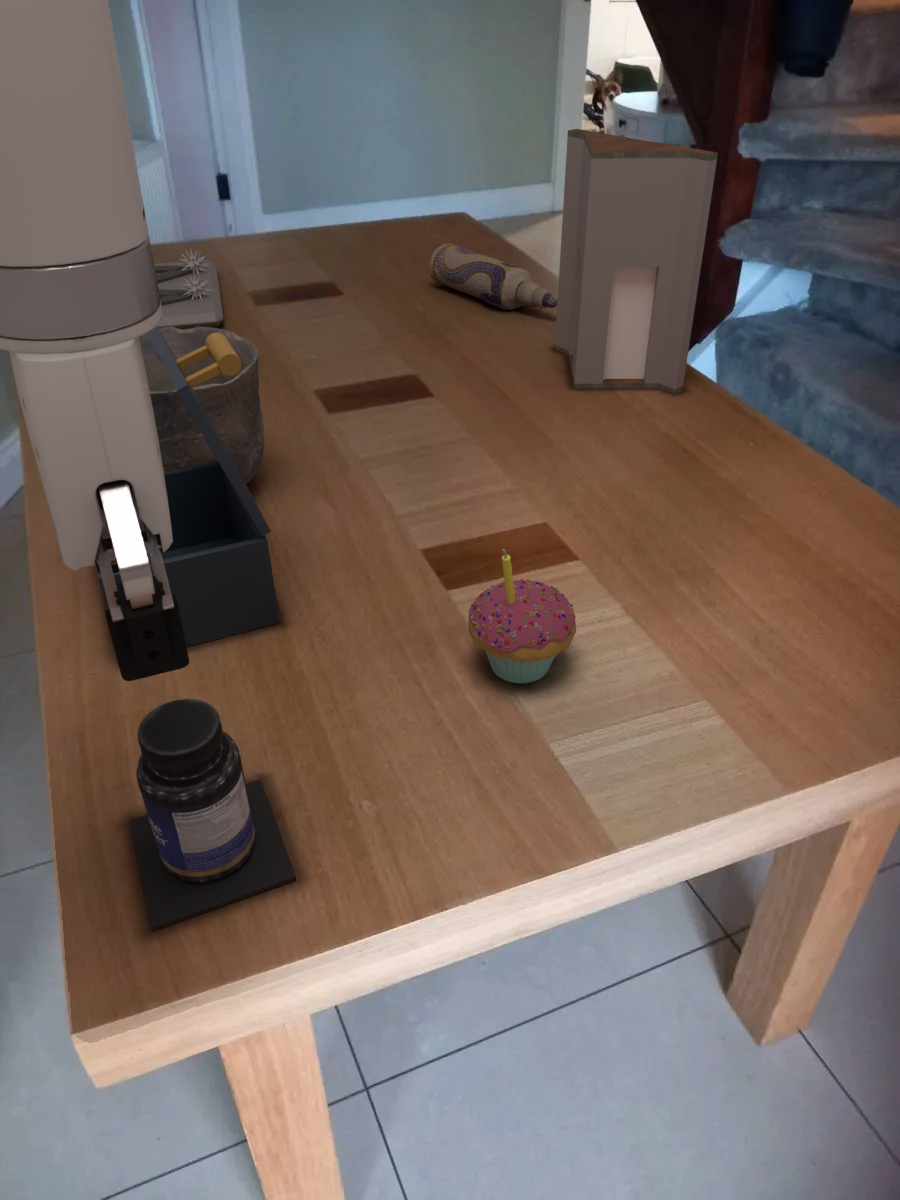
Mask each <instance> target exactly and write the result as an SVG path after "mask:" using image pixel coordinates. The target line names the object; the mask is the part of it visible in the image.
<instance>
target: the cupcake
mask: <svg viewBox="0 0 900 1200" xmlns="http://www.w3.org/2000/svg"><path fill="white" fill-rule="evenodd" d="M502 553H503V555H502V556H501V564H502V571H503V573H502V574H503V580H502V582H500V583H498V584H495V585H491V586H490V587H487V588H486V589H483V591H481V593H480V594H479V595H478V596H477V597H476V598H474V599H473V602H472V603H470V604H469V606H470V607H469V609H468V619H467V620H468V621H467V626H468V634H469V635H470V637H471V640H472V642H473V644H474V645H475V647H477V648H479V649H480V650H483V651H485V654H486V656H487V659H488V662H489V665H490V668H491V669H492V671H493V673H494V674H495V675H496V676H497V677H499V678H500V679H502V680H504V681H506V682H509V683H513V684H528V683H529V684H530V683H533V682H534V683H535V682H537V681H539V680H540V679H542V678H543V677H544V676H546V674H547V673H548V672H549V670H550V668H551V665H552V663H553V661H554V659H555V657H557V655H558V654H559V653H561V652H562V651H564V650H566V649H568V648H569V647H570V645H572V641H573V639H574V637H575V635H576V633H577V632H576V631H577V623H576V618H577V616H576V614H575V611H574V608H573V607H574V605H573V604H571V603H570V602H569V599H568V598H566V597H565V594H564V593H560V591H559V590H558V589H557V588H556V587H554V586H553V585H551V586H549V585H547V584H545V583H544V582H540V581H539V580H537V579H534V580H530V579H517V580H514V575H513V574H514V573H513V567H512V559H511V555H510V554H507V550H506V549H505V548H502Z"/></svg>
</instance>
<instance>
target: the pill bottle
mask: <svg viewBox="0 0 900 1200" xmlns="http://www.w3.org/2000/svg"><path fill="white" fill-rule="evenodd" d="M220 718H221V717H220V714H219V713H218V711H217V710H216V709H215V707H214V706H213V705H212V704H209V703H208V702H206V701H203V700H199V699H195V698H194V699H193V698H183V699H175V700H171V701H168V702H165V703H162V704H161V705H158V706H156V707H155V708H154V709H152V710H151V711H150V712H148V713H147V714H146V715H145V716H144V717H143V719H142V720H141V721H140V723H139V726H138V729H137V741H138V744H139V748H140V753H141V754H140V756H139V759H138V761H137V765H136V780H137V786H138V788H139V791H140V795H141V797H142V801H143V805H144V807H145V811H146V815H148V818H149V821H150V824H151V828H152V831H153V834H154V837H155V840H156V844H157V847H158V850H159V853H160V856H161V860H162V862H163V864H164V866H165V868H166V869H167V870H168V871H169V872H170V873H172V874H173V875H176V876H178V877H179V878H180V879H182V880H185V881H188V882H194V883H204V882H210V881H212V880H217V879H220V878H223V877H225V876H227V875H229V874H231V873H232V872H234V871H235V870H237V869H238V868H239V867H240V866H242V865H243V864H244V862H245V861H246V860H247V859H248V857H249V855H250V854H251V852H252V850H253V847H254V843H255V826H254V821H253V815H252V810H251V807H250V801H249V796H248V792H247V786H246V784H247V782H246V777H245V773H244V769H243V763H242V756H241V754H240V749H239V748H238V744H237V743H236V741H235V740H234V738H233V737H231V736H230V734H228V733H227V732H225V731H224V730H223V726H222V722H221V719H220Z"/></svg>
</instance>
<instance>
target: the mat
mask: <svg viewBox="0 0 900 1200" xmlns="http://www.w3.org/2000/svg"><path fill="white" fill-rule="evenodd" d="M246 786H247V792H248V796H249V801H250V807H251V810H252V815H253V821H254V826H255V843H254V847H253V850H252V852H251V854H250V855H249V857H248V859H247V860H246V861H245V862H244V864H243V865H242V866H240V867H239V868H238V869H237V870H235V871H234V872H232V873H231V874H229V875H227V876H225V877H223V878H220V879H217V880H212V881H210V882H204V883H194V882H188V881H185V880H182V879H180V878H179V877H178V876H176V875H173V874H172V873H170V872H169V871H168V870H167V869H166V868H165V866H164V864H163V862H162V860H161V856H160V853H159V850H158V847H157V844H156V840H155V837H154V834H153V831H152V828H151V824H150V821H149V818H148V815H147V814H146V815H142V816H137V817H135V818H133V819H132V818H131V819H130V820H129V821H128V822H129V827H130V831H131V837H132V842H133V846H134V851H135V857H136V862H137V867H138V871H139V876H140V881H141V885H142V892H143V896H144V902H145V905H146V911H147V916H148V922H149V926H150V930H151V932H154V931H157V930H159V929H162V928H166V927H168V926H171V925H174V924H177V923H179V922H183V921H185V920H187V919H191V918H194V917H196V916H200V915H202V914H205V913H209V912H210V911H211V912H212V911H213V910H216V909H219V908H222V907H225V906H228V905H230V904H233V903H237V902H239V901H242V900H244V899H247V898H251V897H253V896H256V895H258V894H261V893H264V892H267V891H270V890H272V889H273V890H274V889H275V888H278V887H281V886H284V885H287V884H290V883H293V882H295V881H297V875H296V873H295V870H294V868H293V864H292V862H291V859H290V856H289V853H288V851H287V848H286V845H285V842H284V840H283V837H282V834H281V832H280V829H279V826H278V823H277V820H276V817H275V815H274V812H273V809H272V807H271V805H270V801H269V798H268V795H267V793H266V790H265V788H264V784H263V782H262V780H261V779H257V780H254V781H250V782H246Z"/></svg>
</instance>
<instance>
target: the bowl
mask: <svg viewBox="0 0 900 1200" xmlns="http://www.w3.org/2000/svg"><path fill="white" fill-rule="evenodd" d="M159 330H160V332H161V333H162V335H163V337H164V339H165V340H166V342H167V344H168V346H169V347H170V349H171V351H172V353H173V355H174V356H175V358H176V360H177V359H179V358H181V357H183V356H185V355H187V354H189V353H191V352H193V351H195V350H197V349H199V348H201V347H203V346H205V341H206V338H207V337H208V336H209V335H210V334H212V333H221V334H223V335H224V336H225V337H226V339H227V340H228V342H229V343H230V345H231V346H232V348H233V349H234V350H235V352H236V353H237V355H238V356H239V358H240V360H241V363H242V366H241V369H240V371H239V372H238V373H237V374H236V375H233V376H226V375H224V374H222V373H221V374H219V375H217V376H215V377H213V378H211V379H209V380H207V381H205V382H203V383H201V384H199V385H197V386H195V387H193V390H194V392H195V393H196V395H197V397H198V399H199V400H200V402H201V404H202V406H203V407H204V409H205V411H206V413H207V414H208V416H209V418H210V420H211V421H212V423H213V425H214V427H215V428H216V430H217V432H218V434H219V436H220V437H221V439H222V441H223V443H224V444H225V446H226V448H227V450H228V451H229V453H230V455H231V457H232V459H233V461H234V463H235V464H236V466H237V468H238V470H239V472H240V474H241V476H242V478H243V480H244V481H245V483H246V485H248V483H250V482H251V480H252V479H253V477H254V476H255V474H256V472H257V470H258V469H259V468H260V467H259V466H260V465H261V462H262V459H263V455H264V449H265V426H264V425H265V424H264V417H263V413H262V408H261V397H260V393H259V388H260V378H259V359H260V352H259V349H258V348H257V347H256V345H255V344H253V343H252V342H251V341H249V340H248V339H247V338H246V337H241V336H239V335H238V334H236V332H235V333H234V332H233V331H228V330H225V329H221V328H218V327H211V328H210V327H199V326H198V327H195V328H193V329H185V330H181V329H177V328H174V327H165V328H159ZM139 339H140V344H141V350H142V355H143V360H144V365H145V370H146V375H147V380H148V386H149V391H150V396H151V402H152V407H153V413H154V418H155V423H156V429H157V434H158V440H159V446H160V452H161V458H162V465H163V471H164V472H167V471H172V470H177V469H182V468H187V467H192V466H197V465H202V464H207V463H212V462H217V459H216V457H215V455H214V454H213V452H212V450H211V449H210V447H209V445H208V443H207V442H206V440H205V438H204V437H203V435H202V433H201V431H200V430H199V428H198V426H197V425H196V423H195V421H194V419H193V418H192V416H191V414H190V412H189V411H188V409H187V407H186V406H185V404H184V402H183V400H182V399H181V397H180V395H179V394H178V392H177V390H176V388H175V386H174V384H173V382H172V380H171V378H170V376H169V374H168V372H167V370H166V368H165V366H164V364H163V361H162V359H161V357H160V355H159V353H158V351H157V349H156V347H155V345H154V343H153V341H152V339H151V337H150V335H149V333H148V332H147V333H145V334H143V335H141V336H139ZM214 363H215V362H214V360H213V359H212V357H211V355H210V356H208V357H206V358H204V359H202V360H200V361H198V362H196V363H194V364H192V365H190V366H188V367H186V368H184V369H182V370H183V372H184V374H185V376H186V377H188V376H190V375H192V374H194V373H196V372H198V371H200V370H202V369H204V368H206V367H208V366H210V365H212V364H214Z"/></svg>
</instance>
